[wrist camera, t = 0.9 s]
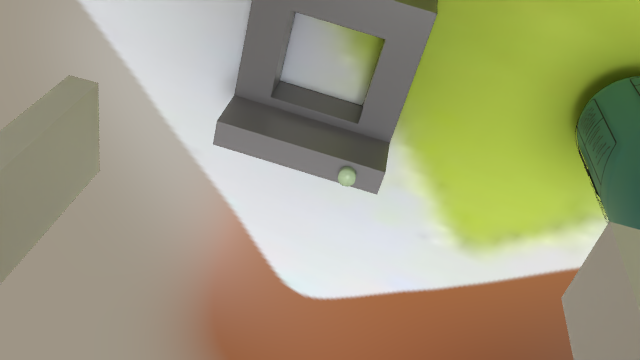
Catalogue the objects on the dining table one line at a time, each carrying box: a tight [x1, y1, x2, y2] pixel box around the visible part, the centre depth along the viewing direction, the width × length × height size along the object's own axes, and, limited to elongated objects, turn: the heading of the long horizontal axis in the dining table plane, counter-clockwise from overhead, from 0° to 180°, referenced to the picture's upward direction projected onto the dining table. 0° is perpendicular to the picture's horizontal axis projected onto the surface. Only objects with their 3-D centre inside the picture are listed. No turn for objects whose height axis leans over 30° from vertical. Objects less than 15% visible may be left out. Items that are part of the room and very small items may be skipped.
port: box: [213, 0, 438, 194], centre depth 35 cm, size 10×10×7 cm
